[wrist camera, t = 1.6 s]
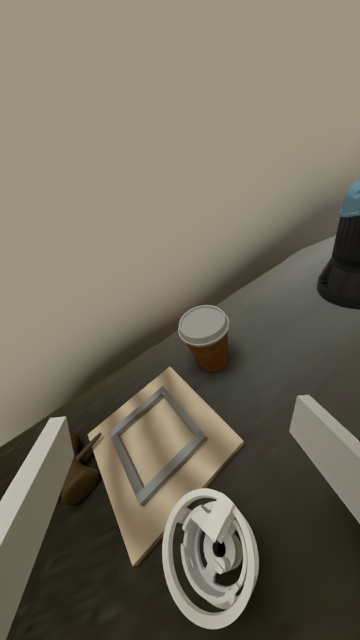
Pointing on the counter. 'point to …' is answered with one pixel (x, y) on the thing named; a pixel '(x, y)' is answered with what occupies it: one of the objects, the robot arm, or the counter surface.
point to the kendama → (79, 474)
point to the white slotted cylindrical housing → (211, 557)
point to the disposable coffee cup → (206, 336)
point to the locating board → (159, 456)
